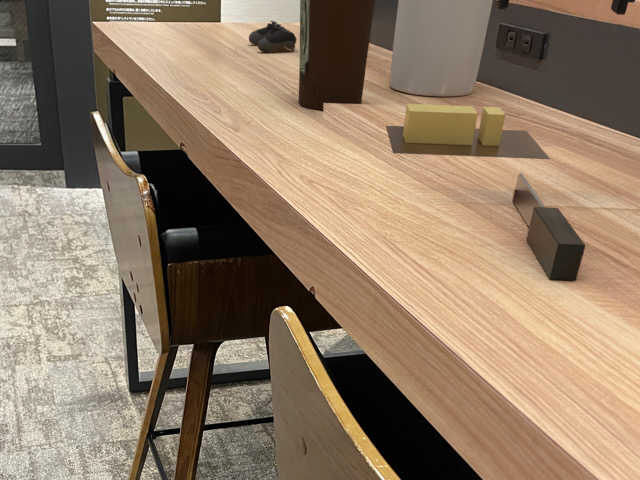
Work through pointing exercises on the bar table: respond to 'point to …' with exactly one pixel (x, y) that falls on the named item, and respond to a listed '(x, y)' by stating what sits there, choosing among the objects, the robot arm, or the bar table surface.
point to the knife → (549, 234)
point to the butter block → (439, 124)
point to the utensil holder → (438, 46)
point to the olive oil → (333, 51)
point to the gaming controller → (273, 38)
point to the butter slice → (491, 126)
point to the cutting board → (472, 146)
